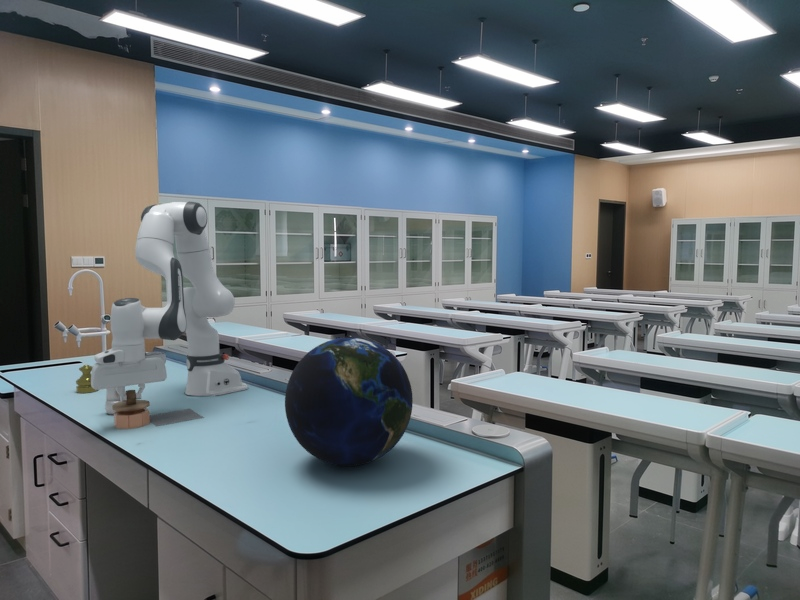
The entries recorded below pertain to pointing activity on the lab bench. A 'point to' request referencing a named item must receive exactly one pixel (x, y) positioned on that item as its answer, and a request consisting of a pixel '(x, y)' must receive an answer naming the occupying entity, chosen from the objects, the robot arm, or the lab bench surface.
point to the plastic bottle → (112, 399)
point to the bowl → (131, 418)
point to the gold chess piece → (85, 380)
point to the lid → (131, 403)
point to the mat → (174, 417)
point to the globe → (348, 401)
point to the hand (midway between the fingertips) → (130, 400)
